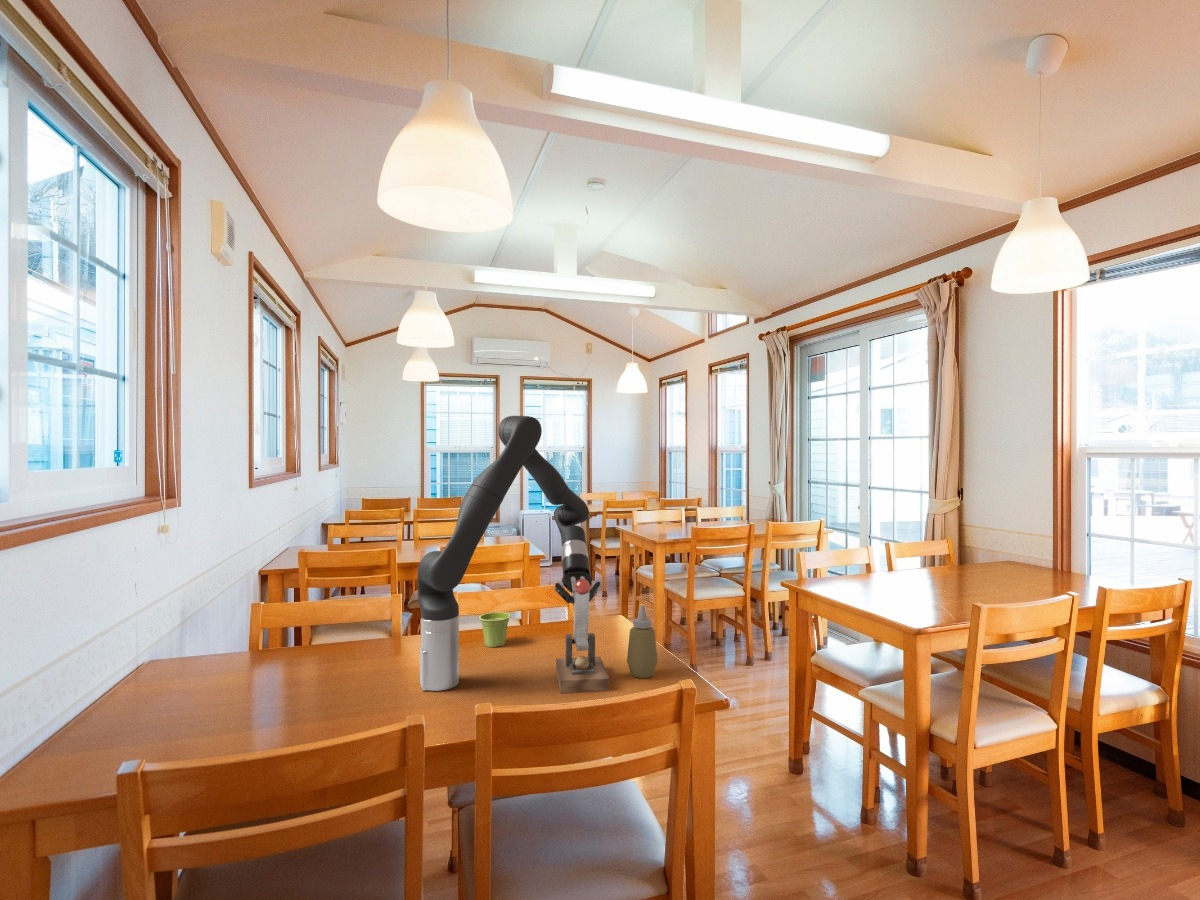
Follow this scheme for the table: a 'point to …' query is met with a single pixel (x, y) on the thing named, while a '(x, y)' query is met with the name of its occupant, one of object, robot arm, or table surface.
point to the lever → (581, 614)
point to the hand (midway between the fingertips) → (580, 615)
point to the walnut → (582, 663)
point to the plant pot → (494, 628)
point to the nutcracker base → (581, 679)
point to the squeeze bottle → (642, 647)
